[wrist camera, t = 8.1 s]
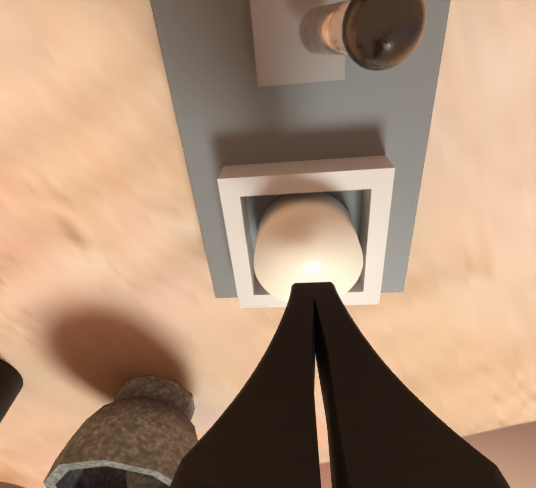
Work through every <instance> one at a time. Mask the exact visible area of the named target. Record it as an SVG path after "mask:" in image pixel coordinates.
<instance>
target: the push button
mask: <svg viewBox="0 0 536 488" xmlns="http://www.w3.org/2000/svg"><path fill="white" fill-rule="evenodd" d="M362 267H363V253H362V249H361V246H360V243H359V240H358V237H357V234H356V231H355V228H354V225H353V222H352V219H351V216H350V214H349V212H348V210H347V209H346V208H345V206H344V205H343V204H342V203H341V202H340V201H338V200H337V199H336V198H334V197H333V196H331V195H329V194H326V193H324V192H310V193H293V194H285V195H283V196H281V197H279V198H278V199H276V200H275V201H274V202H272V203H271V204H270V205H269V206H268V208H267V209H266V210H265V212H264V213H263V215H262V217H261V220H260V223H259V228H258V234H257V241H256V247H255V253H254V270H255V274H256V277H257V279H258V281H259V282H260V284H261V285H262V287H263V288H264V289H265V290H266V291H267V292H268V293H270V294H271V295H272V296H274V297H276V298H277V299H279V300H281V301H284V302H287V303H288V300H289V297H290V293H291V286H292V285H293V284H294V283H306V282H332V283H333V284H334V286H335V288H336V290H337V293H338V295H339V297H341V296H342V295H344V294H345V293H346V292H348V291H349V290H350V289H351V288H352V287H353V286H354V284H355V283H356V282H357V280H358V278H359V276H360V274H361V271H362Z"/></svg>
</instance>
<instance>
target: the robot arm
mask: <svg viewBox="0 0 536 488" xmlns="http://www.w3.org/2000/svg"><path fill="white" fill-rule="evenodd" d="M315 354H316V361H317V367H318V373H319V379H320V385H321V391H322V397H323V403H324V409H325V415H326V422H327V430H328V443H329V456H330V468H331V482H332V488H510V487H509V485H508V483H507V481H506V480H505V478H504V477H503V475H502V473H501V472H500V470H499V469H498V467H497V466H496V465H495V464H494V463H493V462H491V461H490V460H489V459H487V458H486V457H485V456H483V455H482V454H481V453H480V452H479V451H477V450H476V449H475V448H473V447H472V446H471V445H470V444H469V443H467V442H466V441H465V440H464V439H463V438H461V437H460V436H459V435H458V434H456V433H455V432H454V431H453V430H452V429H451V428H450V427H448V426H447V425H446V424H445V423H444V422H443V421H442V420H440V419H439V418H438V417H437V416H436V415H435V414H434V413H433V412H432V411H431V410H430V409H429V408H428V407H427V406H425V405H424V404H423V403H422V402H421V401H420V400H419V399H418V398H417V397H416V396H415V395H414V394H413V393H412V392H411V391H410V390H409V389H408V388H407V387H406V386H405V385H404V384H403V383H402V382H401V381H400V380H399V378H398V377H397V376H396V375H395V374H394V373H393V372H392V371H391V370H390V368H389V367H388V366H387V365H386V364H385V363H384V362H383V360H382V359H381V358H380V357H379V355H378V354H377V353H376V352H375V350H374V349H373V348H372V346H371V345H370V344H369V342H368V341H367V340H366V338H365V337H364V336H363V334H362V333H361V331H360V330H359V328H358V327H357V325H356V324H355V322H354V321H353V319H352V318H351V316H350V315H349V313H348V311H347V310H346V308H345V306H344V304H343V302H342V301H341V299H340V297H339V295H338V293H337V290H336V288H335V286H334V284H333V283H332V282H306V283H294V284H293V285H292V286H291V293H290V297H289V300H288V303H287V306H286V309H285V312H284V314H283V317H282V319H281V322H280V324H279V326H278V329H277V331H276V333H275V335H274V337H273V339H272V341H271V343H270V345H269V347H268V349H267V350H266V352H265V354H264V356H263V357H262V359H261V361H260V363H259V364H258V366H257V367H256V369H255V371H254V372H253V374H252V375H251V377H250V378H249V380H248V381H247V382H246V384H245V385H244V387H243V388H242V390H241V391H240V392H239V394H238V395H237V396H236V398H235V399H234V400H233V402H232V403H231V404H230V405H229V407H228V408H227V409H226V410H225V411H224V413H223V414H222V415H221V416H220V418H219V419H218V420H217V421H216V422H215V424H214V425H213V426H212V427H211V428H210V429H209V430H208V431H207V433H206V434H205V435H204V436H203V437H202V438H201V439H200V440H199V441H198V442H197V443H196V444H195V445H194V446H193V447H192V448H191V449H190V451H189V452H188V453H187V454H186V455H185V456H184V457H183V458H182V460H181V462H180V464H179V466H178V468H177V470H176V473H175V475H174V477H173V480H172V482H171V485H170V487H169V488H321V479H320V467H319V454H318V441H317V428H316V414H315V400H314V379H315Z"/></svg>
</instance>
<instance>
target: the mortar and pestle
mask: <svg viewBox="0 0 536 488" xmlns="http://www.w3.org/2000/svg"><path fill="white" fill-rule="evenodd" d="M194 410H195V407H194V401H193V396H192V394H191V393H190V392H188V391H187V390H186V389H185V388H183V387H182V386H181V385H179V384H178V383H177V382H176V381H172V380H168V379H164V378H160V377H156V376H152V375H149V376H143V377H137V378H131V379H128V380H127V381H126V383H125V384H124V385H123V386H122V387H121V388H120V390H119V391H118V394H117V396H116V398H115V402H113V403H110V404H107V405H104V406H103V407H102V408H100V409H99V410H98V411H97V412H95V413H94V414H93V415H92V416H90V417H89V418H88V419H87V420H86V421H85V422H84V423H83V424H82V426H81V427H80V428H79V429H78V430H77V432H76V433H75V434H74V435H73V436H72V438H71V439H70V440H69V442H68V443H67V445H66V446H65V447H64V449H63V450H62V452H61V453H60V454H59V456H58V457H57V459H56V460H55V462H54V464H53V466H52V467H51V469H50V471H49V473H48V475H47V477H46V478H45V480H44V482H43V483H44V484H45V486H46V487H47V488H169V487H170V485H171V482H172V480H173V477H174V475H175V473H176V470H177V468H178V466H179V464H180V462H181V460H182V458H183V457H184V456H185V455H186V454H187V453H188V452H189V451H190V449H191V448H192V447H193V446H194V445H195V444H196V443H197V442H198V439H197V435H196V431H195V427H194V425H193V424H192V423H191V419H192V416H193V413H194Z"/></svg>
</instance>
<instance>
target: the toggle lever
mask: <svg viewBox="0 0 536 488" xmlns="http://www.w3.org/2000/svg"><path fill="white" fill-rule="evenodd" d="M426 19H427V10H426V4H425V0H347V1H342V2H337V3H332V4H327V5H322V6H317V7H314V8H312V9H310V10H309V11H308V12H306V14H305V15H304V16H303V18H302V19H301V22H300V24H299V39H300V42H301V45H302V46H303V47H304V49H305V50H307V51H308V52H310V53H312V54H317V55H348V56H349V57H350V58H351V59H352V61H353V62H354V63H356V64H357V65H358V66H360V67H362V68H364V69H367V70H372V71H381V70H386V69H390V68H392V67H395V66H397V65H398V64H400V63H401V62H403V61H404V60H405V59H407V58H408V57H409V56H410V55H411V54H412V52H413V51H414V50H415V49H416V47H417V46H418V44H419V42H420V40H421V38H422V36H423V33H424V30H425V26H426Z"/></svg>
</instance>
